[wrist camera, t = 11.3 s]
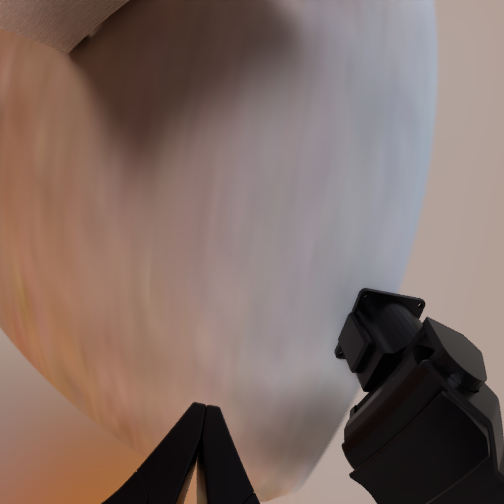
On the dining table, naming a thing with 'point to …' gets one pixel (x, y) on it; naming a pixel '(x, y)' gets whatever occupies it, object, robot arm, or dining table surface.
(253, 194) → the dining table surface
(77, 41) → the silver boxy shape
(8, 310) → the dining table surface
